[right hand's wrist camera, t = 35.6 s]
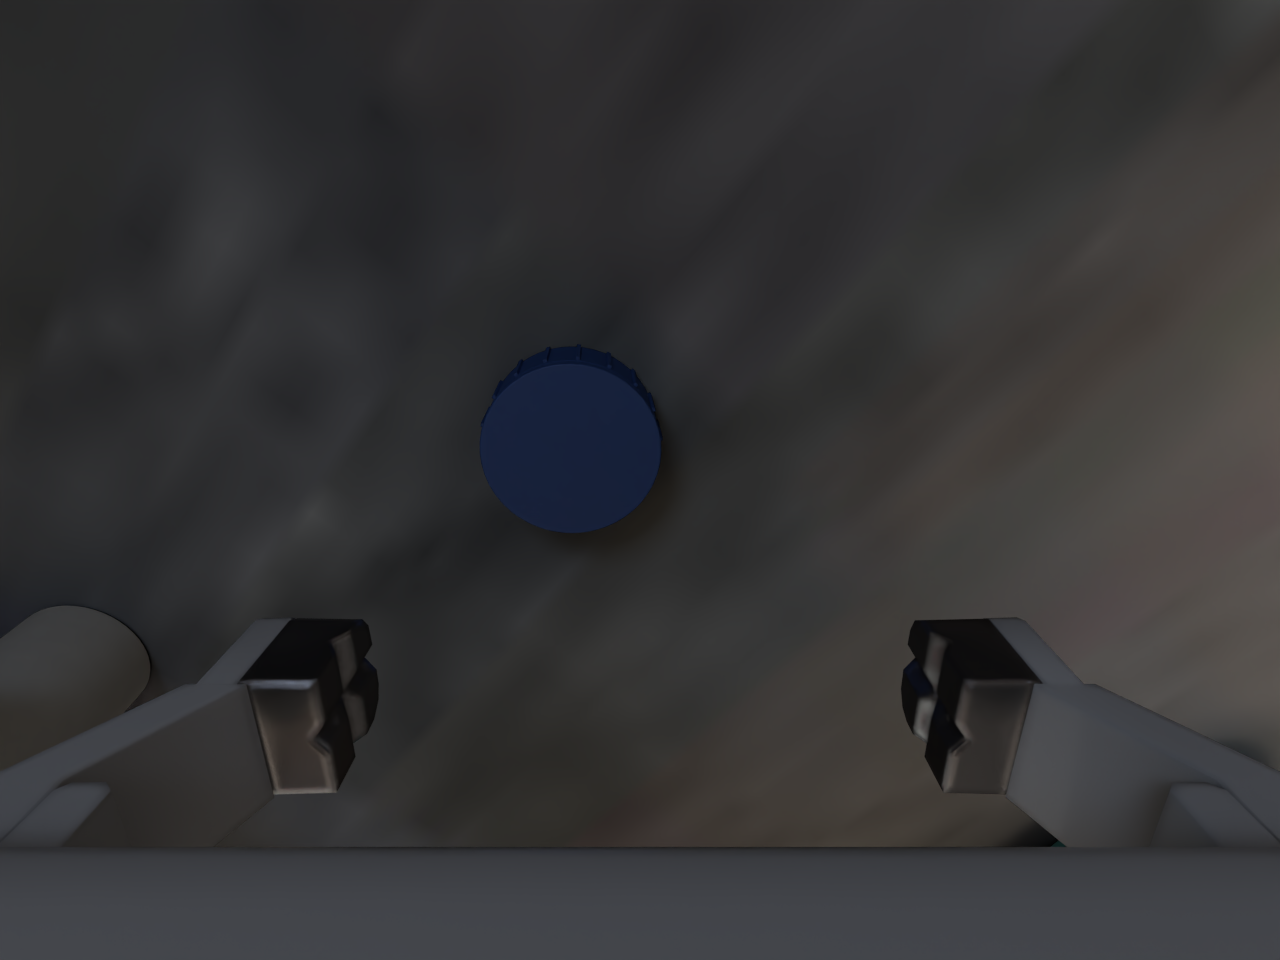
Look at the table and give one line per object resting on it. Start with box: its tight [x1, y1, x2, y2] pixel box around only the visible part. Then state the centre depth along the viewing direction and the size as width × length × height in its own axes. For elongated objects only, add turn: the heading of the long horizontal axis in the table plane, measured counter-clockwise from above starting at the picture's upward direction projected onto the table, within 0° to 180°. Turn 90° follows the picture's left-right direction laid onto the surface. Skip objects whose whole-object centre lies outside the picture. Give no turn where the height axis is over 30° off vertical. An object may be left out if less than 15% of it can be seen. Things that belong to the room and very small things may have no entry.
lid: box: [480, 344, 663, 533], centre depth 20 cm, size 5×5×2 cm
